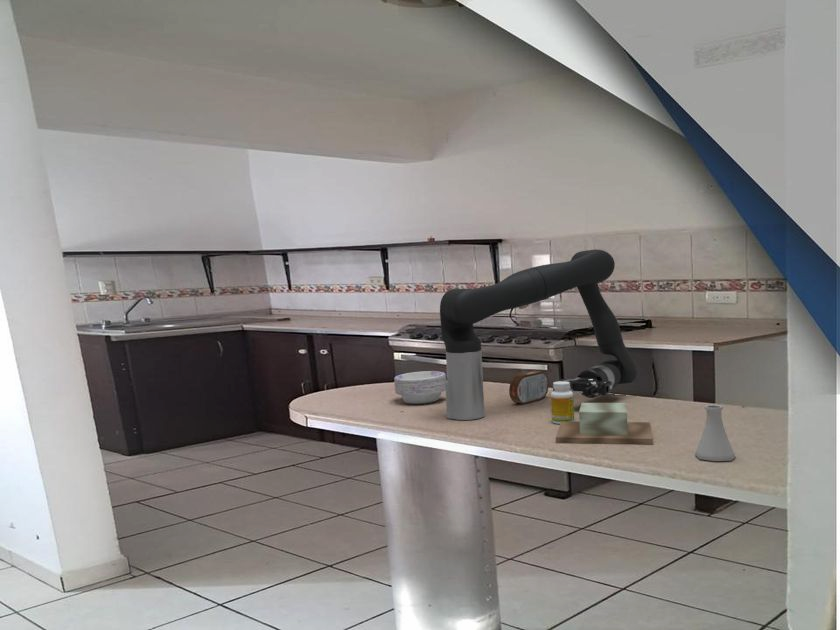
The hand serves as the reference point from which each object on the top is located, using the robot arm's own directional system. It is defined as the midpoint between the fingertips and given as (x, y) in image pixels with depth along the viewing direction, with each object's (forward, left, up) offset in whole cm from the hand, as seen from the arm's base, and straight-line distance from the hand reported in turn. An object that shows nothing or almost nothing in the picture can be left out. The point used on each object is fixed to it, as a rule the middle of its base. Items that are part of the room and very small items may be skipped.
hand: (570, 391), depth 175 cm
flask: (+29, -33, -7) cm, 45 cm away
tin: (-13, +20, -7) cm, 25 cm away
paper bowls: (-45, +20, -7) cm, 49 cm away
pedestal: (+8, -17, -7) cm, 20 cm away
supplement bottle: (-2, -5, -7) cm, 9 cm away
